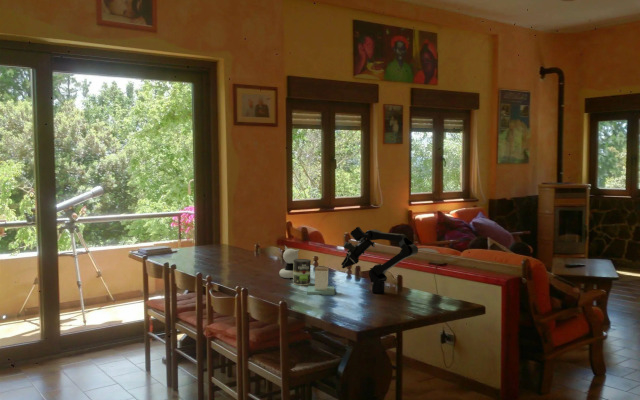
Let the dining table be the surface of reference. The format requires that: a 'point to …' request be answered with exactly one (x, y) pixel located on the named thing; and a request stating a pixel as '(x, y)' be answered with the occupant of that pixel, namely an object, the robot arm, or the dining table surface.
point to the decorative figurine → (289, 262)
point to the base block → (321, 291)
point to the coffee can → (301, 271)
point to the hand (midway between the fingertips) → (342, 266)
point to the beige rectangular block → (321, 278)
